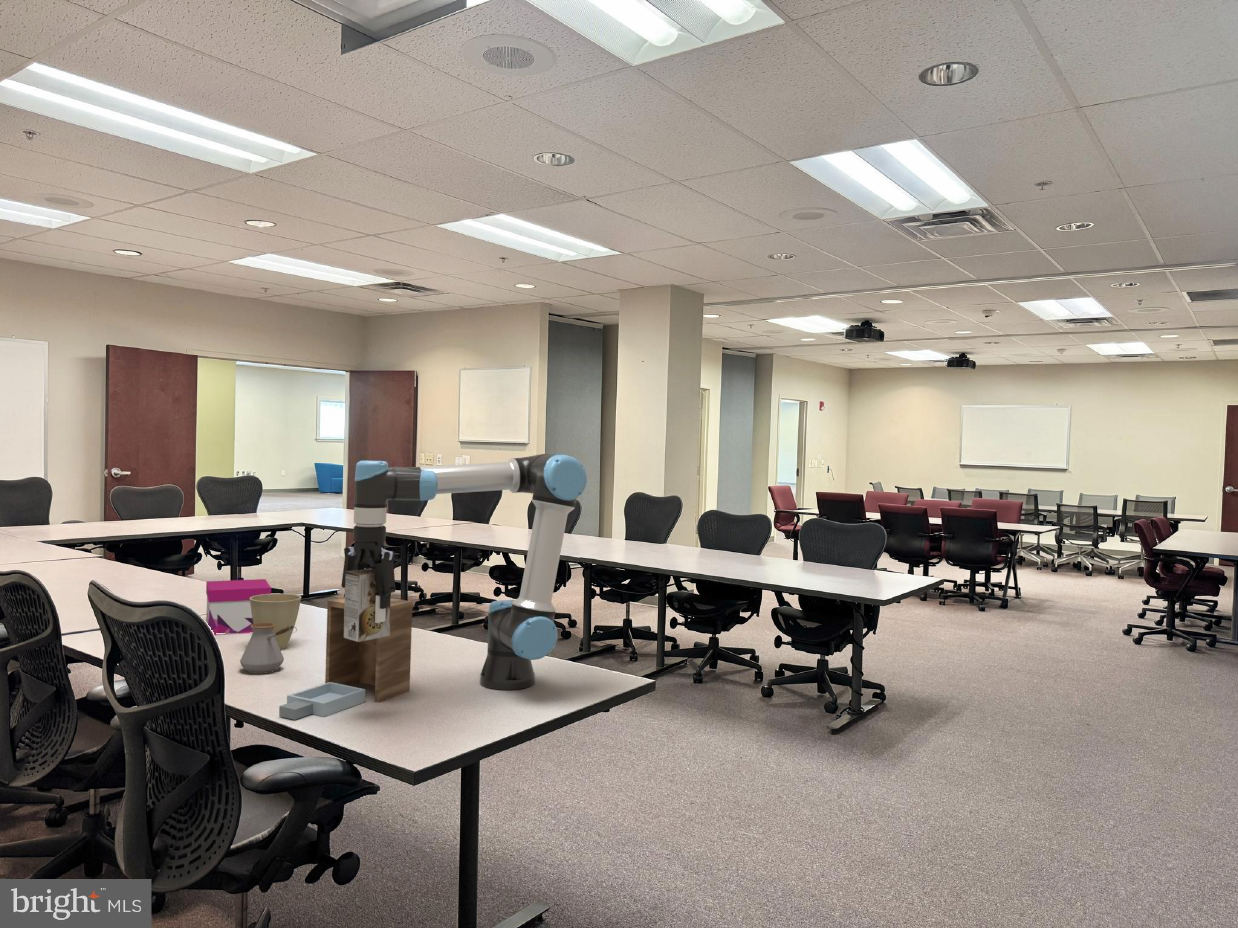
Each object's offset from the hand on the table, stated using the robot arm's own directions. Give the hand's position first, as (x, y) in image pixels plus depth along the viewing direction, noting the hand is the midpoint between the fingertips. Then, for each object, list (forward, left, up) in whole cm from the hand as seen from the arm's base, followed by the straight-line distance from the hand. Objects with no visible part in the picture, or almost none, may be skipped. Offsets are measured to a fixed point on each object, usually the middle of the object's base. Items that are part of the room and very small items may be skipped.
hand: (367, 619), depth 204 cm
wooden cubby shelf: (+13, -15, -23) cm, 30 cm away
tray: (+13, +2, -23) cm, 26 cm away
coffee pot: (+47, -14, -23) cm, 54 cm away
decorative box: (+101, -48, -23) cm, 114 cm away
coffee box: (0, 0, -4) cm, 4 cm away
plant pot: (+69, -35, -23) cm, 80 cm away
